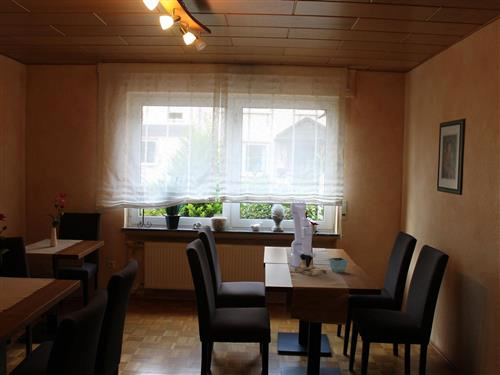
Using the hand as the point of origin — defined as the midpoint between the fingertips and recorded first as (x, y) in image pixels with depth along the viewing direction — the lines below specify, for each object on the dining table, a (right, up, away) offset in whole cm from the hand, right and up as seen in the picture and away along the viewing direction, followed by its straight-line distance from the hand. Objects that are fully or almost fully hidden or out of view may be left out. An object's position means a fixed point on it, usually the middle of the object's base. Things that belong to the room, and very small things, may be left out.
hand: (306, 266), depth 306 cm
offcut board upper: (+5, -2, -6) cm, 8 cm away
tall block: (0, -2, 0) cm, 2 cm away
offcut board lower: (+5, -4, -6) cm, 8 cm away
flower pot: (+21, -5, +3) cm, 22 cm away
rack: (+2, -4, -3) cm, 6 cm away
